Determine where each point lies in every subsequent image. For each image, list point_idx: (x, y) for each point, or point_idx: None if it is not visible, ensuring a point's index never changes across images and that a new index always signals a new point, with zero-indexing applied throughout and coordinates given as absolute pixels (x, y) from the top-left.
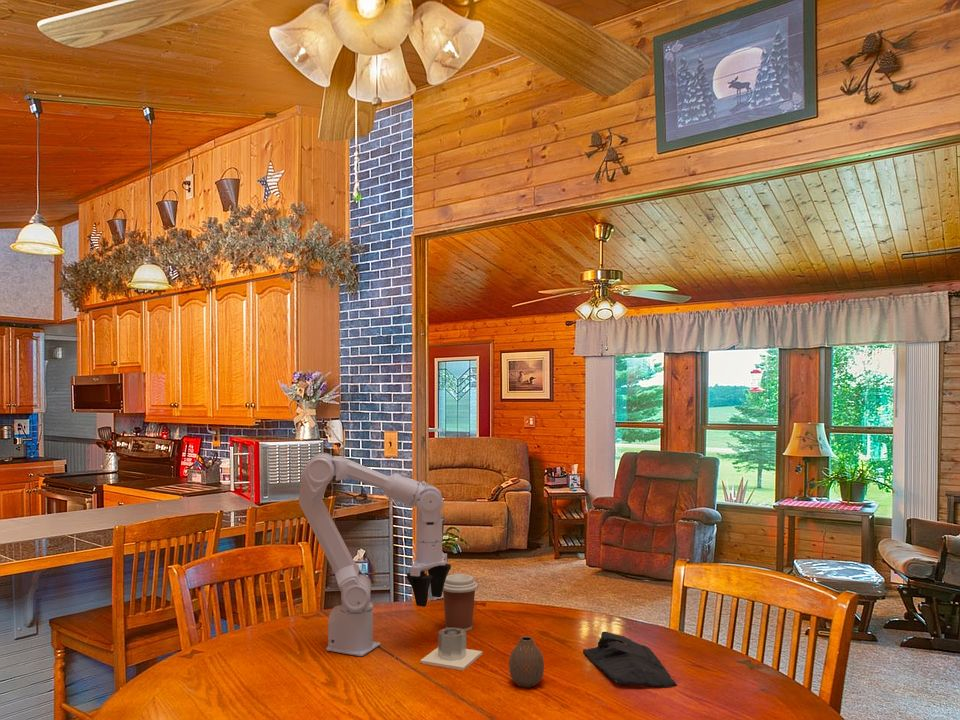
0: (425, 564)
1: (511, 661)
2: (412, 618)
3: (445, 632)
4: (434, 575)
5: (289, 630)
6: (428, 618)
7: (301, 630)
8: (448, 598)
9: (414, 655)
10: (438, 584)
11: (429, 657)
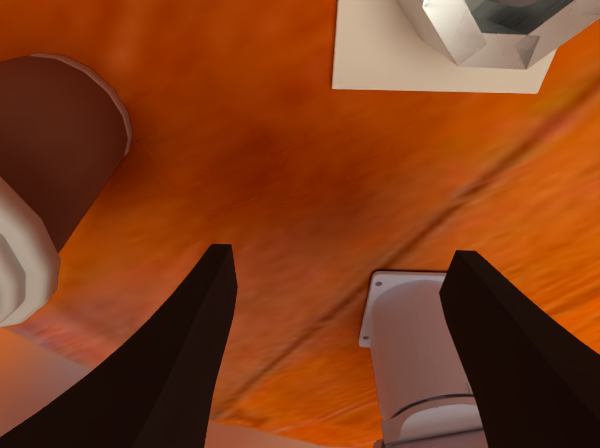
0: None
1: None
2: (119, 284)
3: (489, 31)
4: (193, 433)
5: (339, 415)
6: (81, 249)
7: (332, 405)
8: (65, 224)
9: (441, 147)
10: (207, 333)
11: (499, 69)
